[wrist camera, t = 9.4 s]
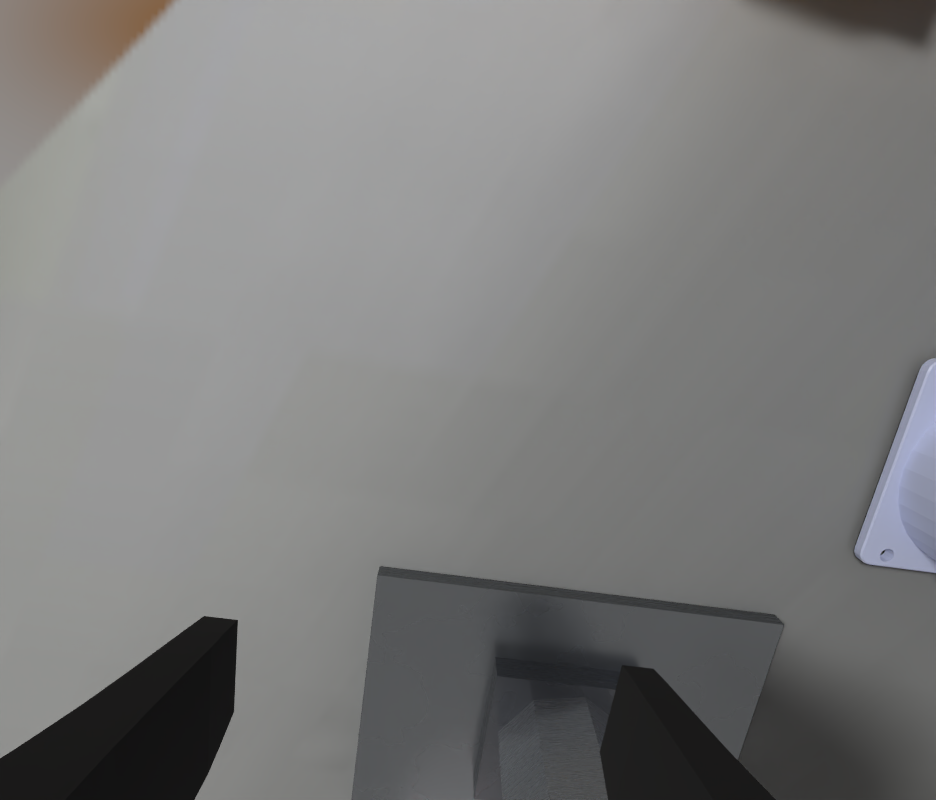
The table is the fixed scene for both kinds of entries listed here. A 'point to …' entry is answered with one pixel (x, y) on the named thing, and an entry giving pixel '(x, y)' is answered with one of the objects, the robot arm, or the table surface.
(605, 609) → the grey square base plate
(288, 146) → the table surface
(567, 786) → the tube
